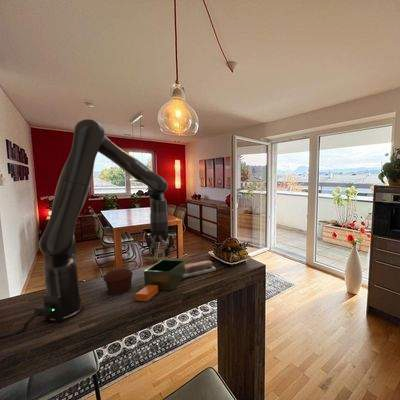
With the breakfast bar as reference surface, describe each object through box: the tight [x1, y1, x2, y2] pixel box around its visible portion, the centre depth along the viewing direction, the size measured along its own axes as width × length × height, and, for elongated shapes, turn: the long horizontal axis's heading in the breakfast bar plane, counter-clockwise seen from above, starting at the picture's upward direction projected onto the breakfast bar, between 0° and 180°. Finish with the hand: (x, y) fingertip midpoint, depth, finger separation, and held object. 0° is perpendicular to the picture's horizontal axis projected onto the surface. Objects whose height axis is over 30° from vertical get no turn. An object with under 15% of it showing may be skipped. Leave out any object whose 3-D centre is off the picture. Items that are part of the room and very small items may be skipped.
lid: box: [143, 248, 186, 261], centre depth 112 cm, size 15×13×5 cm
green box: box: [143, 260, 186, 291], centre depth 112 cm, size 15×13×9 cm
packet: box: [135, 285, 159, 302], centre depth 100 cm, size 5×8×3 cm, turn 173°
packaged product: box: [183, 260, 217, 279], centre depth 125 cm, size 18×5×10 cm
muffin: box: [102, 266, 134, 295], centre depth 106 cm, size 12×11×10 cm
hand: (160, 255), depth 108 cm, fingers closed on lid, 5 cm apart
